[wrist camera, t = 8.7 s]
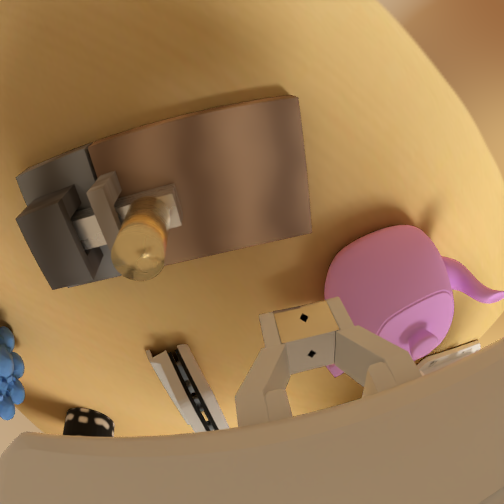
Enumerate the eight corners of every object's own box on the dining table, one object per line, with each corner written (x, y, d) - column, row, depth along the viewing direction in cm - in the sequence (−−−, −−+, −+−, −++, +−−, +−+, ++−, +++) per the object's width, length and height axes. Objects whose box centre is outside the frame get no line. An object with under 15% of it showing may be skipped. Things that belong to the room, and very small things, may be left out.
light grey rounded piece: (144, 348, 33) (172, 418, 25) (181, 332, 35) (217, 398, 27) (183, 416, 42) (211, 469, 35) (211, 404, 44) (242, 455, 36)
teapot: (448, 277, 35) (497, 336, 26) (309, 343, 37) (337, 421, 27) (448, 187, 28) (522, 241, 19) (274, 261, 29) (308, 354, 20)
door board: (290, 95, 21) (314, 102, 17) (304, 221, 27) (326, 255, 23) (26, 169, 21) (-6, 194, 16) (73, 274, 27) (56, 313, 22)
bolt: (173, 179, 21) (163, 225, 16) (183, 216, 23) (180, 272, 17) (36, 221, 21) (-4, 272, 15) (50, 252, 23) (18, 307, 17)
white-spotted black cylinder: (110, 411, 40) (103, 532, 23) (118, 433, 44) (115, 538, 27) (61, 403, 38) (44, 519, 21) (73, 427, 42) (64, 528, 26)
